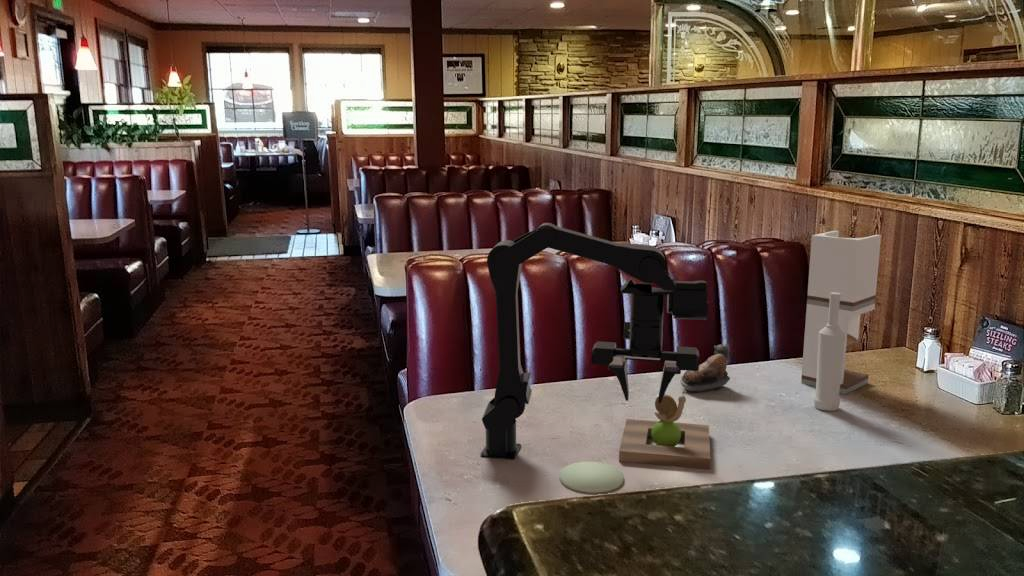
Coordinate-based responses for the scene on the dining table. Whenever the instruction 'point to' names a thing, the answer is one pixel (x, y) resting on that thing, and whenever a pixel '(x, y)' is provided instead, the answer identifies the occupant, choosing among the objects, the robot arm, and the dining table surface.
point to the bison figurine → (708, 372)
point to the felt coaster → (591, 477)
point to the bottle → (830, 359)
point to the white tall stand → (855, 278)
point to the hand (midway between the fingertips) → (643, 401)
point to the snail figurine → (668, 420)
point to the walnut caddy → (687, 456)
